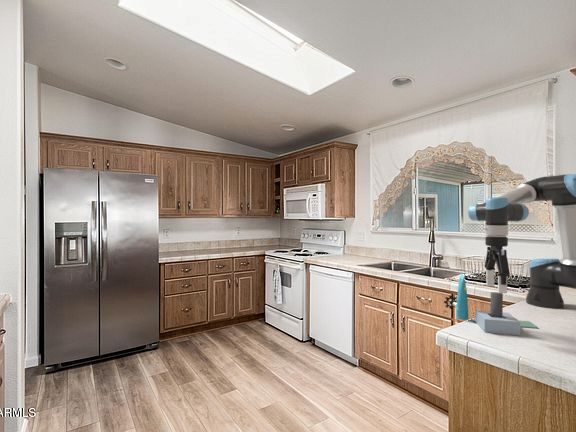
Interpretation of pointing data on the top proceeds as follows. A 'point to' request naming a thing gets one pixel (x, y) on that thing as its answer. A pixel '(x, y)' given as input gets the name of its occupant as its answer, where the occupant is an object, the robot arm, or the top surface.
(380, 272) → the top surface
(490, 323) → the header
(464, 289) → the tube
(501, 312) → the plug
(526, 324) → the pad
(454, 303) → the valve
